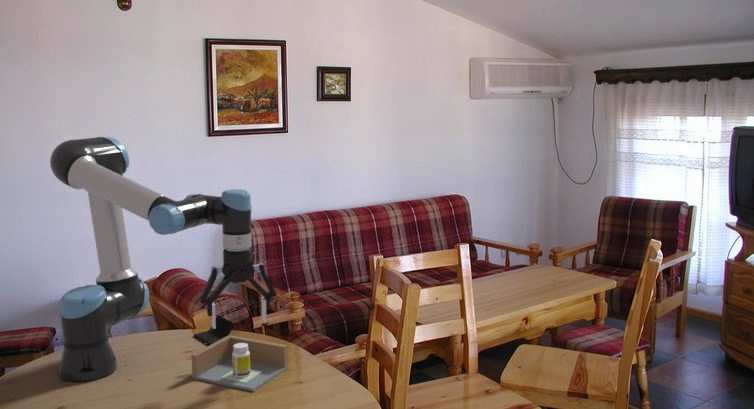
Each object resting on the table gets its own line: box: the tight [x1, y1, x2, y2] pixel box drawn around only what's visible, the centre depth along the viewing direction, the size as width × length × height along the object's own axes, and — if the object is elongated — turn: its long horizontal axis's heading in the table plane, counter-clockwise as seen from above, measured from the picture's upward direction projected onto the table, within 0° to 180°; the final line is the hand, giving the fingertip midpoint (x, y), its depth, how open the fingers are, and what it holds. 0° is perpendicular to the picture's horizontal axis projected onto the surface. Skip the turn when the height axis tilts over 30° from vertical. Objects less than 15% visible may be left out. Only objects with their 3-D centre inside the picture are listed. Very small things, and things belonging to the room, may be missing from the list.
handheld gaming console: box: [193, 314, 235, 346], centre depth 222 cm, size 12×7×10 cm
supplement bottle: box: [232, 343, 251, 378], centre depth 191 cm, size 5×5×8 cm
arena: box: [191, 334, 289, 393], centre depth 194 cm, size 20×17×7 cm
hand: (239, 324), depth 189 cm, fingers open, 13 cm apart
